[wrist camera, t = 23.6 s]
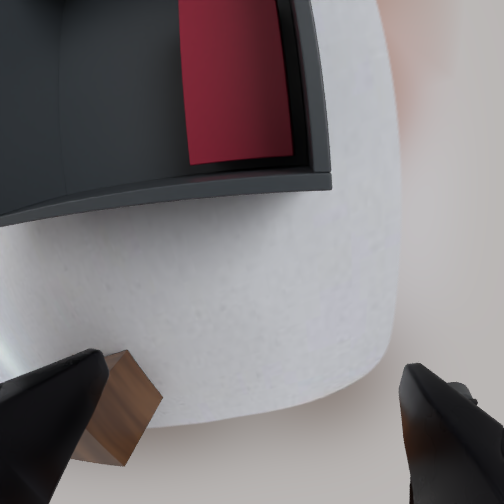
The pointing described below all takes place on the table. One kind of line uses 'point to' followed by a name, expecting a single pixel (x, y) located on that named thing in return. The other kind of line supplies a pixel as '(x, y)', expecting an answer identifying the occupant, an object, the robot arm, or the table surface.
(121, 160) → the storage bin
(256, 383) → the table surface
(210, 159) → the red rectangular block
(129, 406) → the wooden stand
